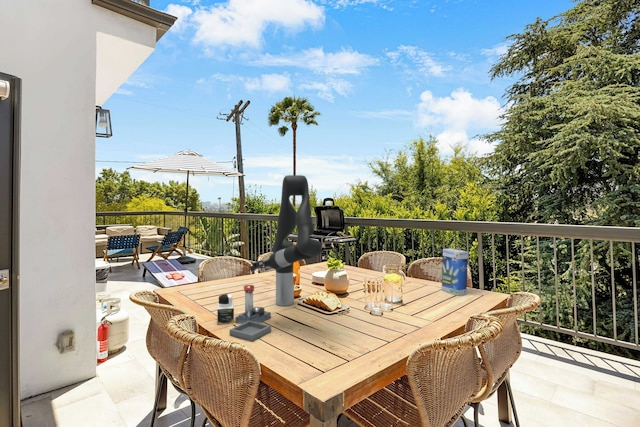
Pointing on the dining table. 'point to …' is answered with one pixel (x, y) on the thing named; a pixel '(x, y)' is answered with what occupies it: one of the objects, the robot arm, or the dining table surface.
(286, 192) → the robot arm
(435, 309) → the dining table surface
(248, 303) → the pin
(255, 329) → the tray
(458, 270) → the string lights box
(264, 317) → the tensioner block
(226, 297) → the medicine bottle
